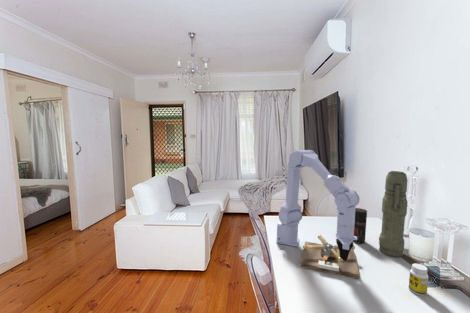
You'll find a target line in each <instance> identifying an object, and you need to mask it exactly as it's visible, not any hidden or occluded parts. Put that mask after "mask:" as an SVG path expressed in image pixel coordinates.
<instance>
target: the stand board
mask: <svg viewBox="0 0 470 313" xmlns="http://www.w3.org/2000/svg"><path fill="white" fill-rule="evenodd" d="M304 245H323V247H325V245H324V244H323V243H318V242H311V241H304V243H303V246H304ZM334 246H335V245H333V248H334ZM334 249H335V248H334ZM336 250H337V254H338V255H339V256H340V253H339V249H336ZM322 259H323V257H322V256H321V250H304V249H303V248H302V253H301V258H300V261H299V267H300V268H304V269H309V270H314V271H318V272H323V273H328V274H334V275H338V276H343V277H347V278H351V279H357V280H359V279H360V273H359V268H358V264H357V260H356V259H357V258H356V254H355V249H354V250H352V249H351V250H350V252H349V255H348V259H347V261H345V260H343V261H342V262H341V263H340V262H338V260H337V259H334V260H329V261H328V262H330V263H331V266H332V263H336V264H339V272H338V271H333V270H328V269H324V268H319V267H318V262H319V260H320V261H322ZM325 265H326V264H325Z"/></svg>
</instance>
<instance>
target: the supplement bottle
mask: <svg viewBox="0 0 470 313" xmlns="http://www.w3.org/2000/svg"><path fill="white" fill-rule="evenodd" d="M428 272H429V271H428V267H426V266H425V265H423V264H420V263H412V264H411V269H410V270H409V276H408V277H409V279H408V290H409V291H410V292H411V293H412V294H414V295H418V296H422V297H423V296H426V295H427V294H428V285H429V275H428Z"/></svg>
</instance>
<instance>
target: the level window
mask: <svg viewBox="0 0 470 313" xmlns="http://www.w3.org/2000/svg"><path fill="white" fill-rule="evenodd" d="M318 267H319V268H324V269H328V270H333V271H338V272H339V264H336V263H332V266H331V263H330V262H327V263H326V265H325V261H320V260H319V262H318Z"/></svg>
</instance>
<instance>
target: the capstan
mask: <svg viewBox="0 0 470 313" xmlns="http://www.w3.org/2000/svg"><path fill="white" fill-rule="evenodd" d="M317 239H318V240H319V241H320V242H321V244H324V245H325V247H323V245H304V244H303V245H302V250H303V249H304V250H321V256H322V257H323V259H322V261H325V264H326V263H327V262H328V261H329V260H334V259H337V260H338V262H340V263H341V262H342V261H343V259H342V258H341V257H340V256H339V255H338V254H337V250H336V249H339V248H338V245H337V244H335V245H333V244H330V243H329V242H328V241H327V240H326V239H325V238H324V237H323V236H322V235H321V234H318V236H317ZM333 246H334V248H335V249H334V248H333ZM355 248H356V246H355V245H354V244H353V247H352V248H351V249H352V250H354V251H355Z"/></svg>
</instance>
